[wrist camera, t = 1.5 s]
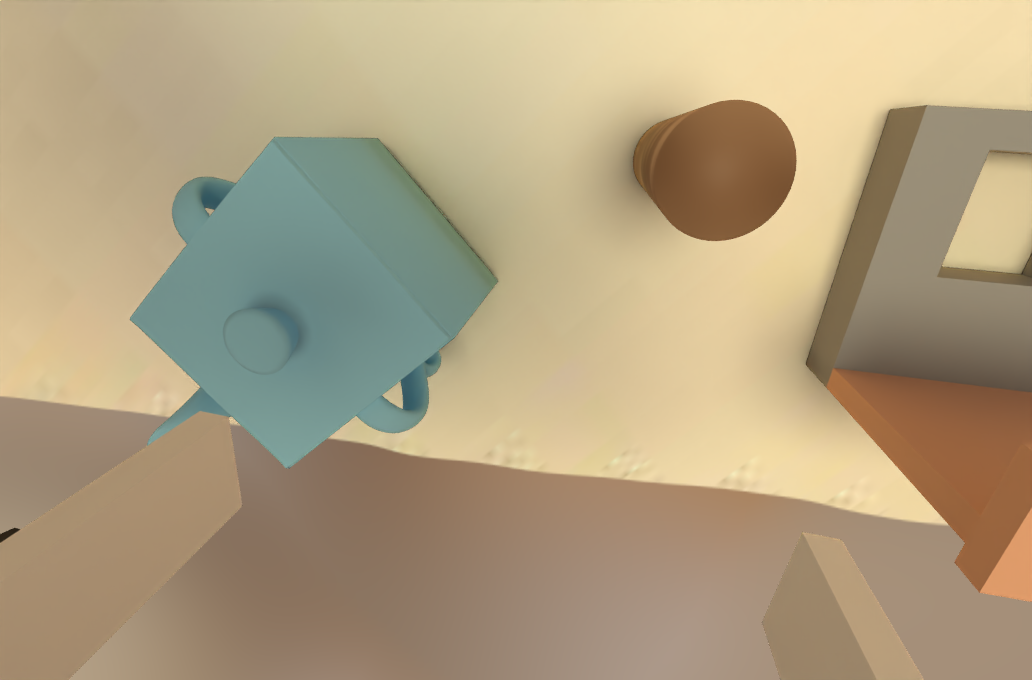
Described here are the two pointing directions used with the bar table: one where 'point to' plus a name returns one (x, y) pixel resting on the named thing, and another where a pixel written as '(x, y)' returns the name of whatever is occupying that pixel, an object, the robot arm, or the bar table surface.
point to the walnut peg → (717, 168)
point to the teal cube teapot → (311, 293)
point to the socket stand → (939, 338)
